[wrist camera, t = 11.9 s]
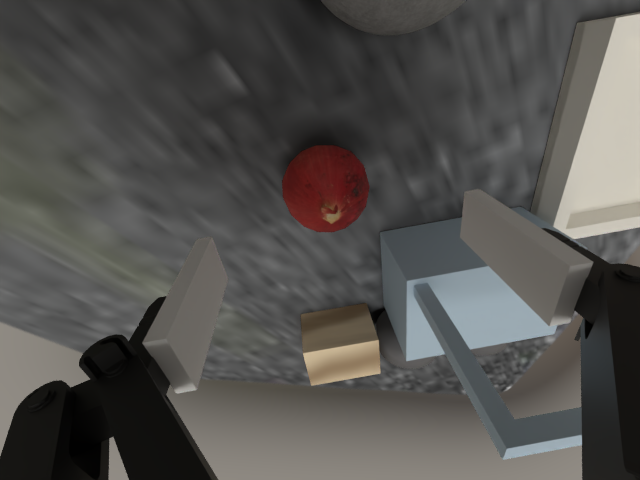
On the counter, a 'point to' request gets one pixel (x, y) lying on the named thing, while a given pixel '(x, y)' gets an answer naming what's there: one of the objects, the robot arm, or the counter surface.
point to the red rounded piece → (325, 188)
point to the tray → (595, 134)
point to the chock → (340, 344)
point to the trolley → (463, 326)
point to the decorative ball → (391, 14)
